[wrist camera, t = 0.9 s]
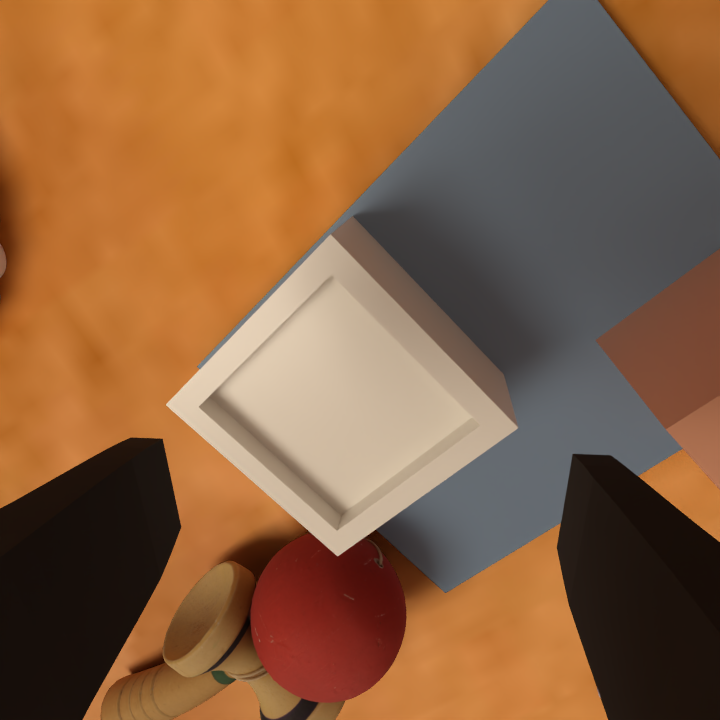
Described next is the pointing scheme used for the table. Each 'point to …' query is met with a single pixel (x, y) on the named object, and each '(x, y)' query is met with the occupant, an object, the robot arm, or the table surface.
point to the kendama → (276, 636)
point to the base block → (348, 392)
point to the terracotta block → (678, 360)
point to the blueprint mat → (542, 264)
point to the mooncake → (2, 261)
